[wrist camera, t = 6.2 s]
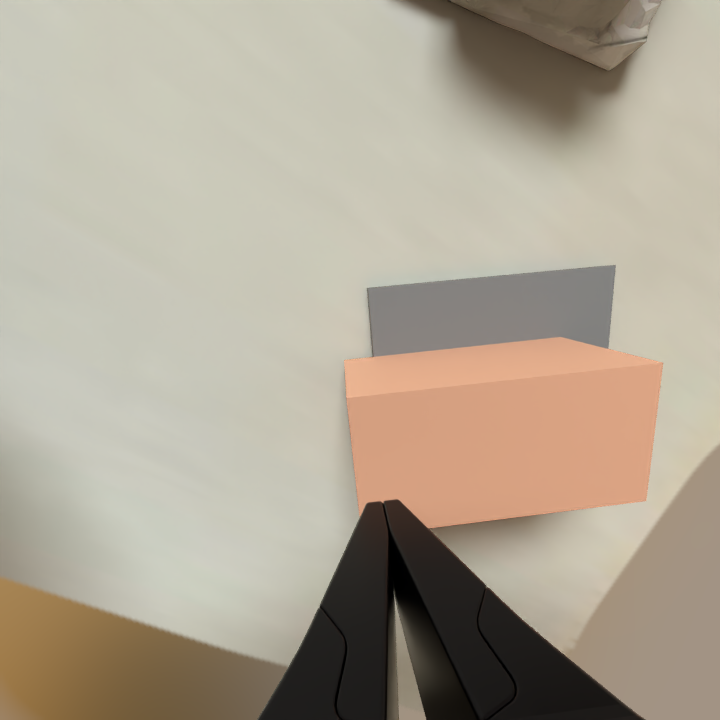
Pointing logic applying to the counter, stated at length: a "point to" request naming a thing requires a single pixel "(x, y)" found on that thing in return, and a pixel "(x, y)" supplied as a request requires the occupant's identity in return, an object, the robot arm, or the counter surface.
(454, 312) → the gray square plate
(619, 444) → the terracotta block
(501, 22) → the packaged product
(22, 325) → the counter surface
